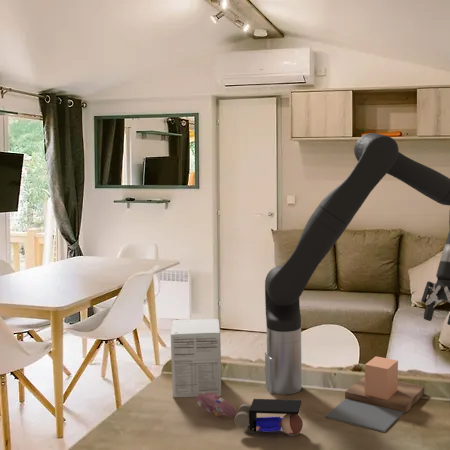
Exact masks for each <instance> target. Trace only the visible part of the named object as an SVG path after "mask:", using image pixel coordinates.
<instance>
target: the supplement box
mask: <svg viewBox="0 0 450 450" xmlns="http://www.w3.org/2000/svg"><path fill="white" fill-rule="evenodd" d="M170 351H171V352H170V354H171V356H170V357H171V358H170V359H171V360H170V361H171V380H172V385H171V386H172V398H191V397H192V398H193V397H194V398H196V397H197V396H198V395H199V394H201V393H202V392H203V391H204V392H205V393H215V394H216V395H218V396H219V397H221V396H222V353H221V351H222V350H221V328H220V320H219V318H201V319H200V318H199V319H175V320H174V319H173V320H172V323H171V332H170Z"/></svg>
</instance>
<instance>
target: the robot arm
mask: <svg viewBox="0 0 450 450" xmlns="http://www.w3.org/2000/svg"><path fill="white" fill-rule="evenodd" d="M353 152H354V153H353V154H354V156H355V159H356V160H357V163H356V164H355V166H354V168H353V169H352V171H351V172H350V174H349V175H348V176H347V177H346V179H345V180H343V181H342V182H341V183H340V184H339V185H336V187H335V188H334V189H332V190H331V191H330V192H329V193H328V194H327V195H326V196H325V197H324V198H323V199H322V200H321V201H320V202H319V204H318V205H317V207H316V208H315V209H314V211H313V212H312V213H311V215H310V217H309V218H308V220H307V222H306V224H305V226H304V228H303V230H302V233H301V235H300V237H299V240H298V242H297V244H296V246H295V248H294V250H293V251H292V253H291V254H290V256H289V257H288V259H287V260H286V261H285V263H283V265H277V266H275V267H273V268H271V269H270V270H269V271H268V273H267V274H266V276H265V280H264V292H265V293H264V300H265V303H264V304H265V319H266V323H265V324H266V351H265V352H264V360H265V361H264V363H265V365H264V369H265V370H264V371H265V373H264V374H265V377H264V378H265V379H264V381H265V387H266V388H267V390H268V392H269V393H270V394H277V395H292V394H297V393H299V392H301V390H302V389H303V388H302V383H303V382H302V381H303V379H302V316H301V307H300V297H301V296H302V294H303V293H304V290H305V288H306V287H307V285H308V283H309V281H310V280H311V278H312V276H313V274H314V272H315V271H316V269H317V268H318V266H319V265H320V263H321V262H322V260H324V258H325V257H326V256H327V255H328V254H329V252H330V250H332V248H333V247H334V245H335V244H336V242H337V241H338V240H339V239H340V238H341V236H342V235H343V233H344V232H345V230H346V229H347V227H348V226H349V225H350V223H351V222H352V220H353V219H354V218H355V216H356V214H357V213H358V212H359V210H360V209H361V207H362V206H363V204H364V203H365V201H366V200H367V198H368V197H369V195H370V194H371V192H373V190H374V189H375V188H376V187H377V185H378V184H379V183H380V182H381V181H382V180H383V178H384V177H385V176H386V175H389V176H392V177H393V178H395V179H398V180H399V181H400V182H402V183H403V184H405V185H408V186H409V187H411V188H413V189H414V190H415V191H417V192H418V193H420V194H422V195H423V196H426V197H427V198H429V199H431V200H432V201H434V202H436V203H438V204H440V205H442V206H449V207H450V177H448V176H446V175H444V174H442V173H441V172H439V171H437V170H435V169H434V168H431V167H429V166H427V165H425V164H422V163H420V162H418V161H416V160H414V159H412V158H410V157H408V156H406V155H405V154H403V153H401V152H400V151H399V145H398V143H397V141H396V140H395V139H394V138H393V137H391V136H388V135H386V134H382V133H381V134H380V133H376V132H370V133H366V134H363V135H362V136H360V137H358V139H357V141H356V142H355V145H354V148H353ZM448 216H449V217H448V218H449V220H448V221H449V222H448V224H449V226H448V227H449V230H448V234H447V237H446V241H445V244H444V248H443V250H442V252H441V256H440V258H439V259H440V260H439V264H438V268H437V270H436V275H435V277H436V278H437V280H436V282H435V283H434V282H432V281H429V280H428V281H427V282H426V285H425V287H424V290H423V293H422V298H421V302H422V303H424V304H425V309H424V311H423V312H424V313H423V319H424V320H425V321H429V322H432V319H433V316H434V313H435V307H436V306H437V305H438V304H439V303H442V302H443V301H444V302H448V303H449V304H450V211H449V215H448ZM447 325H449V326H450V314H449V315H448V320H447Z"/></svg>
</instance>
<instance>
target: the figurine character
mask: <svg viewBox="0 0 450 450" xmlns="http://www.w3.org/2000/svg"><path fill="white" fill-rule="evenodd" d="M301 406H302V400H301V399H277V398H271V399H270V398H253V400H252V403H251V404H250V403H242V404H241V405H240V406H239V407H238V410H237V413H236V415H235V416H234V423H235V425H236V426H237V427H239V428H242V429H244V428H245V429H246V428H248V429H249V430H246V431H245V432H244V434H257V433H259V432H266V433H269V432H278V431H280V432H281V430H282V431H283V432H284V433H285V434H286V435H287V436H296V435H298V434H300V433H301V431H302V429H303V425H304V424H303V423H304V422H303V420H302V417H301V416H300V415H299V413H300V410H301ZM257 414H273V415H283V416H282V417H281V416H267V417H266V416H265V417H262V416H261V417H257Z"/></svg>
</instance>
